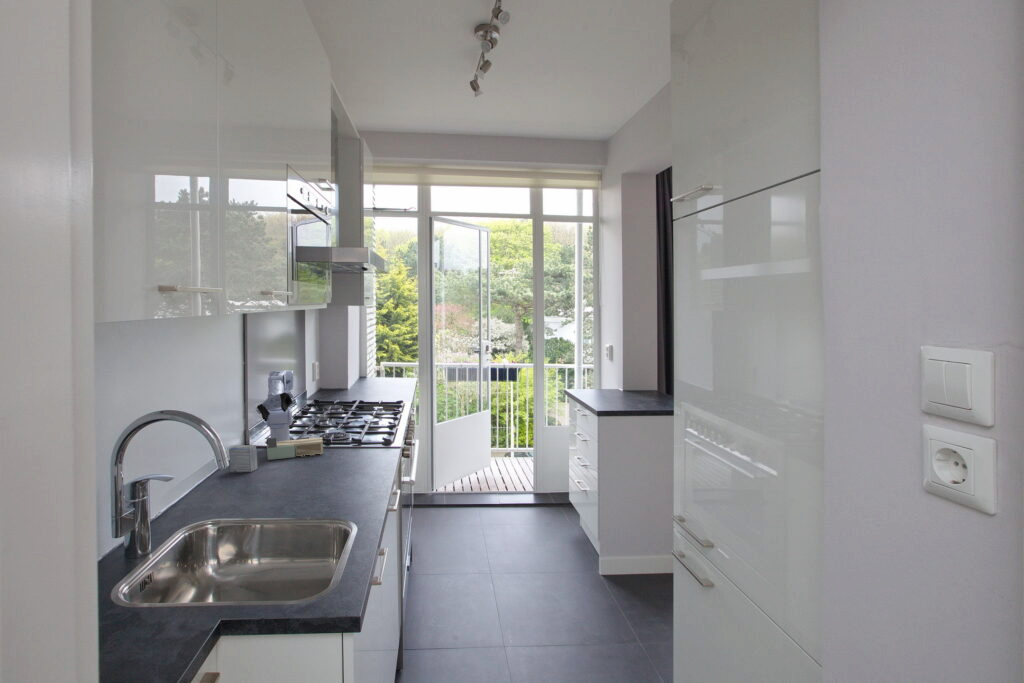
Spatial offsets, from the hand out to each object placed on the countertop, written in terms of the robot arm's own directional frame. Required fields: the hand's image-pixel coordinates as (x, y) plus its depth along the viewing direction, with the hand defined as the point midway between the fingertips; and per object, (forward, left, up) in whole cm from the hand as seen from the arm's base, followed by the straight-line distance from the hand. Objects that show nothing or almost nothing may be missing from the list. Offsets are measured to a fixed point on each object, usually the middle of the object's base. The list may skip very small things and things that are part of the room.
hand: (274, 414), depth 230 cm
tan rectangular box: (-7, +7, -17) cm, 20 cm away
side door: (-2, +2, -17) cm, 17 cm away
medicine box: (+10, -10, -18) cm, 23 cm away
